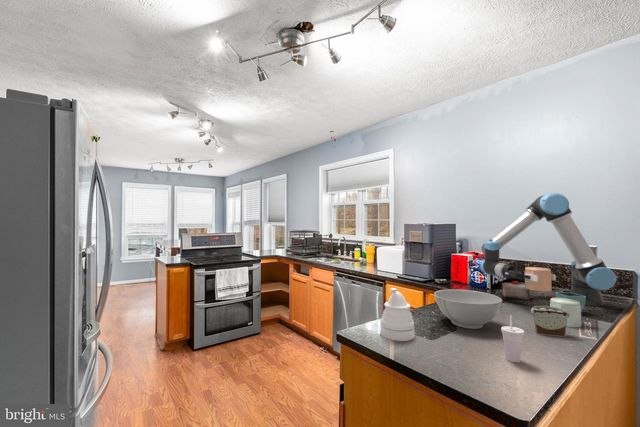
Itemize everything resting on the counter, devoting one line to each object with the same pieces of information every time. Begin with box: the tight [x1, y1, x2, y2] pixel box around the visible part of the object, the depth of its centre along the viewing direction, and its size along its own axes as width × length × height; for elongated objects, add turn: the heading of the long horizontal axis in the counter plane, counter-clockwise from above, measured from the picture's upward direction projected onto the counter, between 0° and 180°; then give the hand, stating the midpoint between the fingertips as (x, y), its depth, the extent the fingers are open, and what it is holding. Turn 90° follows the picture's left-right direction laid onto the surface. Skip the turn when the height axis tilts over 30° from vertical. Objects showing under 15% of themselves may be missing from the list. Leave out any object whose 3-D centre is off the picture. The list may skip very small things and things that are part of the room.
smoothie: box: [500, 315, 525, 363], centre depth 97 cm, size 6×6×14 cm
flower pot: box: [555, 291, 586, 313], centre depth 150 cm, size 9×9×9 cm
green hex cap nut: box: [549, 297, 582, 328], centre depth 133 cm, size 10×10×10 cm
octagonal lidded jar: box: [524, 266, 552, 292], centre depth 147 cm, size 10×10×10 cm
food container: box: [531, 305, 569, 338], centre depth 121 cm, size 12×6×10 cm, turn 71°
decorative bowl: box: [433, 288, 503, 330], centre depth 132 cm, size 27×27×12 cm
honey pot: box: [380, 287, 415, 342], centre depth 119 cm, size 13×13×18 cm
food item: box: [502, 280, 531, 301], centre depth 179 cm, size 14×8×10 cm, turn 48°
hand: (546, 278), depth 143 cm, fingers closed on octagonal lidded jar, 10 cm apart
